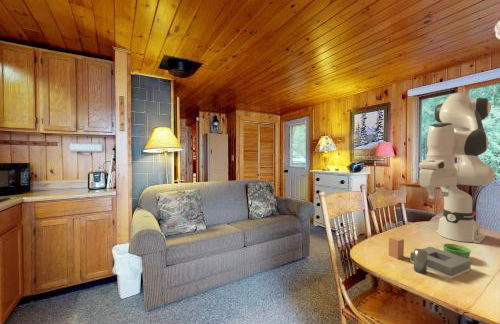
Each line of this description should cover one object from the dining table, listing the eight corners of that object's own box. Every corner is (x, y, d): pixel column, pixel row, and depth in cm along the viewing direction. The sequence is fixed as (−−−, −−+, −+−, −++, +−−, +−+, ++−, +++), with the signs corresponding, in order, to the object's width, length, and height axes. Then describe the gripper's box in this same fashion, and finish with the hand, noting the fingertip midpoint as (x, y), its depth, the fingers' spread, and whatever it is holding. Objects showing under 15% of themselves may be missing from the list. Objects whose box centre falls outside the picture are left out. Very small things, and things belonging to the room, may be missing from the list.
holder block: (429, 255, 103) (430, 246, 103) (470, 270, 90) (470, 259, 90) (410, 262, 97) (410, 252, 97) (450, 278, 84) (451, 268, 84)
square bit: (394, 253, 105) (394, 236, 105) (403, 257, 102) (403, 239, 101) (388, 255, 104) (389, 237, 103) (397, 259, 100) (398, 240, 99)
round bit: (417, 267, 93) (418, 247, 92) (429, 272, 89) (429, 251, 89) (411, 270, 91) (412, 249, 91) (422, 274, 87) (423, 254, 87)
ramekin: (444, 251, 107) (445, 241, 107) (471, 257, 101) (472, 247, 100) (440, 257, 101) (441, 247, 101) (468, 264, 95) (469, 254, 95)
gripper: (445, 162, 101) (443, 193, 102) (416, 163, 93) (415, 198, 94) (463, 162, 96) (461, 196, 97) (434, 164, 87) (433, 201, 88)
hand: (438, 197), depth 95 cm, fingers open, 8 cm apart
